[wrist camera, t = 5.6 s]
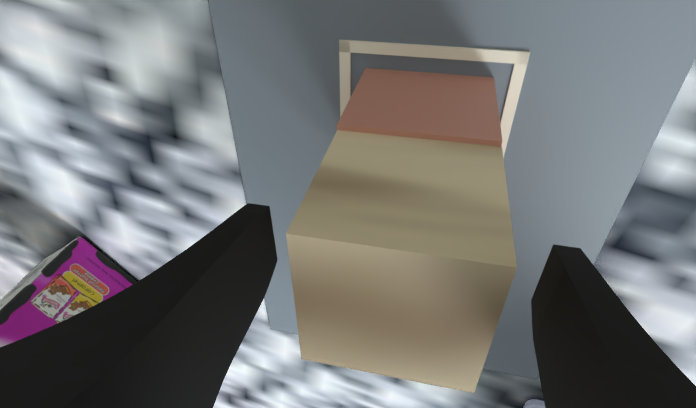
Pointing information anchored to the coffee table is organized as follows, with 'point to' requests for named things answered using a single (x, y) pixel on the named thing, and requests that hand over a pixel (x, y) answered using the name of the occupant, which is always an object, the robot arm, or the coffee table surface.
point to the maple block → (403, 257)
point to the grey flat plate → (512, 97)
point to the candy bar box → (59, 290)
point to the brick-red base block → (424, 106)
